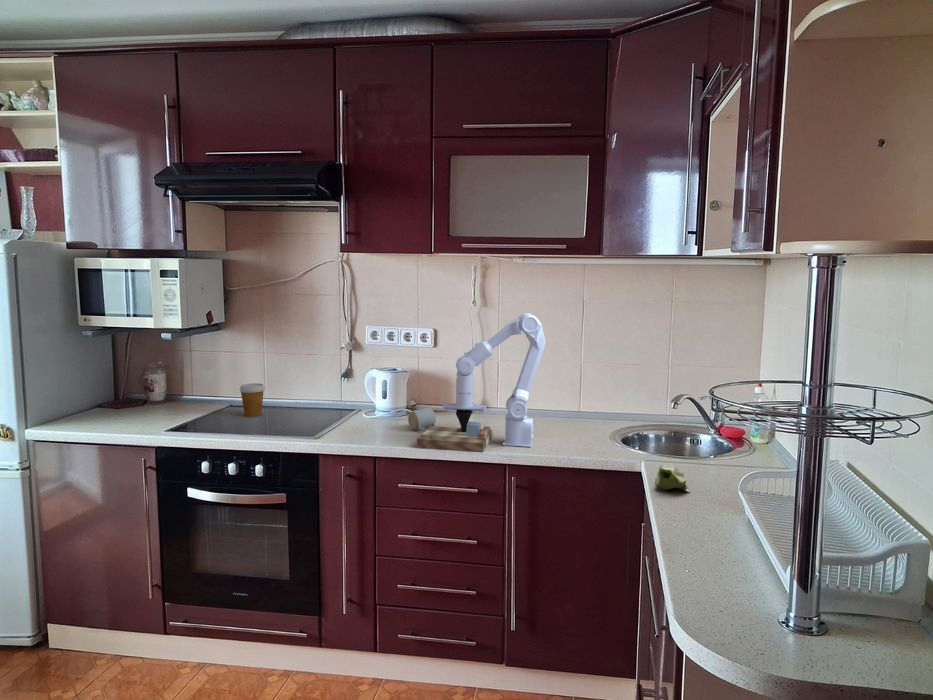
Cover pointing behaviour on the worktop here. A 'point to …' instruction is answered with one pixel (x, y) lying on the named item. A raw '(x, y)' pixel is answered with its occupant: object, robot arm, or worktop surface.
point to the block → (473, 429)
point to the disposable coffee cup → (252, 398)
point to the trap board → (454, 439)
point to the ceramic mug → (422, 419)
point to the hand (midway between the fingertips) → (464, 431)
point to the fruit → (670, 478)
